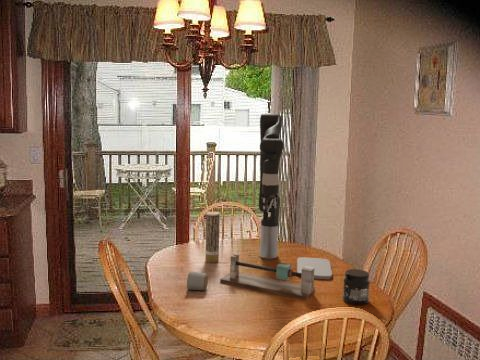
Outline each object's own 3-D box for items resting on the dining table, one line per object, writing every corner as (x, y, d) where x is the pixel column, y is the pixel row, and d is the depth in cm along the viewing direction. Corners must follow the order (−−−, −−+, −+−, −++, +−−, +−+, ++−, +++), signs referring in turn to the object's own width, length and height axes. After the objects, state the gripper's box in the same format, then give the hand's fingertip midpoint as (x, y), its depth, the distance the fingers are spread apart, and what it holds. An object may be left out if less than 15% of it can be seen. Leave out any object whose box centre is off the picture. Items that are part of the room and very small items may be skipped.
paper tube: (202, 261, 233) (203, 213, 229) (209, 258, 239) (210, 211, 235) (214, 263, 230) (215, 215, 226) (221, 260, 236) (222, 212, 232)
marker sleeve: (280, 275, 201) (280, 262, 200) (290, 277, 198) (291, 264, 198) (276, 278, 197) (276, 265, 196) (287, 280, 194) (287, 267, 194)
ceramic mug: (205, 293, 192) (205, 275, 191) (186, 292, 193) (186, 274, 192) (209, 284, 203) (209, 267, 202) (191, 283, 203) (191, 266, 202)
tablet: (328, 263, 237) (329, 258, 237) (332, 281, 211) (332, 276, 211) (297, 261, 239) (297, 256, 239) (296, 278, 213) (297, 273, 213)
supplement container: (346, 293, 196) (348, 266, 194) (371, 299, 190) (373, 271, 189) (338, 302, 187) (340, 273, 185) (364, 308, 181) (366, 279, 180)
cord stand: (232, 274, 216) (233, 250, 214) (315, 290, 198) (317, 265, 196) (220, 282, 205) (220, 257, 203) (306, 300, 187) (308, 273, 186)
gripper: (268, 180, 214) (267, 214, 216) (256, 184, 201) (255, 220, 204) (284, 182, 211) (282, 216, 213) (272, 186, 198) (270, 222, 200)
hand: (269, 218), depth 208 cm, fingers open, 8 cm apart
